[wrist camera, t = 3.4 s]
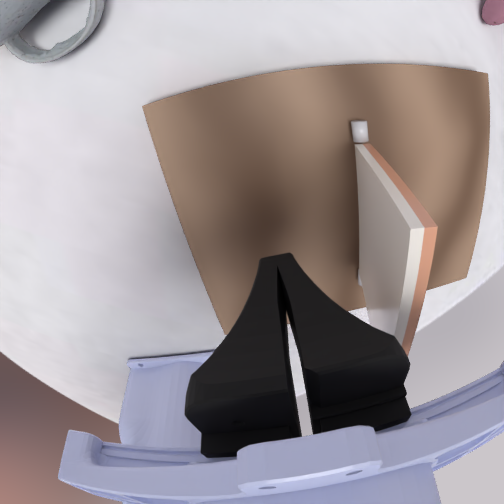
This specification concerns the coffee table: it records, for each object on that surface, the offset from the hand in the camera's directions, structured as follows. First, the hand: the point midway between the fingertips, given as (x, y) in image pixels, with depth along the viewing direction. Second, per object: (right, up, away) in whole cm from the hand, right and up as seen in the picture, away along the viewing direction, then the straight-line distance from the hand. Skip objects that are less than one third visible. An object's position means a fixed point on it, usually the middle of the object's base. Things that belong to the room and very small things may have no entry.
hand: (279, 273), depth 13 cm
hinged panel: (+4, +1, 0) cm, 4 cm away
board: (+5, +4, +4) cm, 8 cm away
